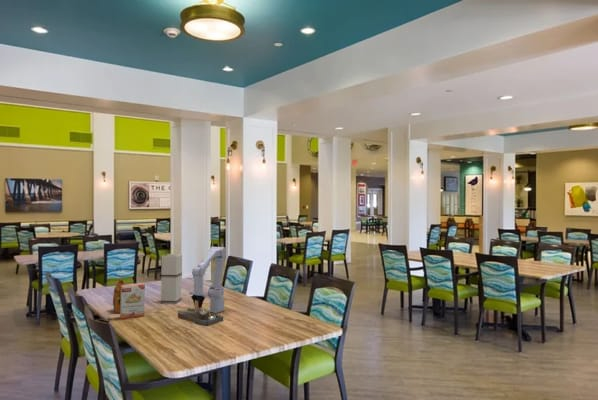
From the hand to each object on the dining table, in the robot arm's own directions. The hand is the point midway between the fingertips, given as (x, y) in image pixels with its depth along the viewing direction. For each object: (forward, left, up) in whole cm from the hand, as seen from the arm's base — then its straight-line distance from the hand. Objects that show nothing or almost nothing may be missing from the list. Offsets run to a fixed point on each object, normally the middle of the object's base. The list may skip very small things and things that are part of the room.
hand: (198, 307), depth 261 cm
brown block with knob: (0, 0, -5) cm, 5 cm away
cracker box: (+20, -39, -8) cm, 45 cm away
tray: (0, +10, -8) cm, 13 cm away
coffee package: (+16, -57, -8) cm, 60 cm away
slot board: (0, -4, -8) cm, 9 cm away
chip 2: (0, +12, -6) cm, 13 cm away
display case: (-21, -50, -8) cm, 55 cm away
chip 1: (0, +5, -3) cm, 6 cm away
